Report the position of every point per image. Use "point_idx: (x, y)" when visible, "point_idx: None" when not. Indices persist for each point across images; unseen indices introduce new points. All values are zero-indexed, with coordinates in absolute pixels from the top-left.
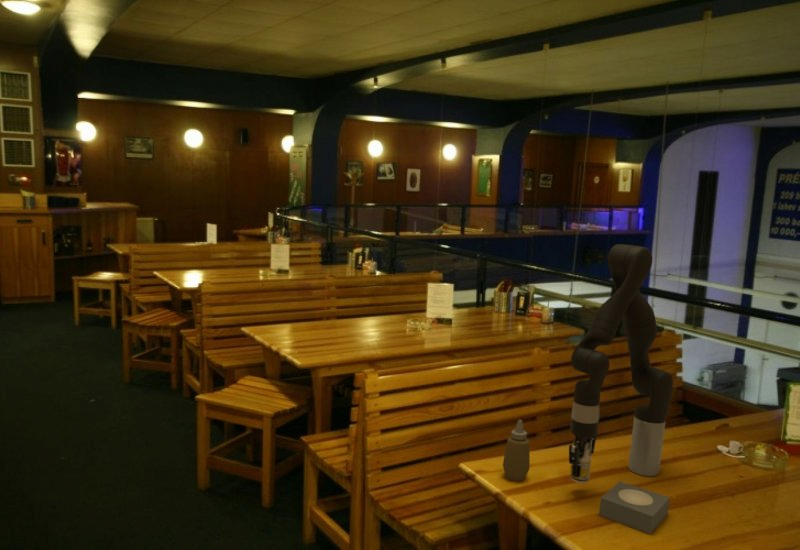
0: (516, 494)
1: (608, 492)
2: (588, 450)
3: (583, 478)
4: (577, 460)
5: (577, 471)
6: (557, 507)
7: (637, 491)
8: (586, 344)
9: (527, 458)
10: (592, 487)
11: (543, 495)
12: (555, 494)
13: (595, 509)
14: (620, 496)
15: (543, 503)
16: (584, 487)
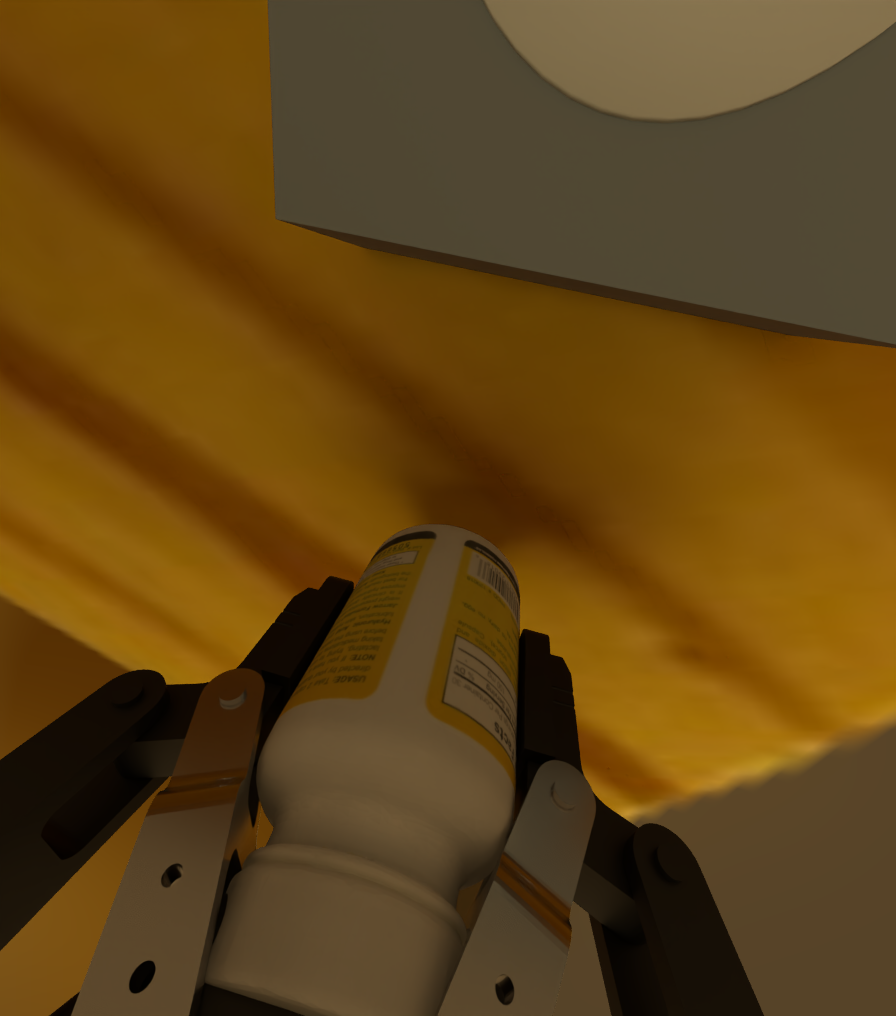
0: (651, 765)
1: (704, 286)
2: (332, 971)
3: (507, 587)
4: (725, 971)
5: (565, 703)
6: (742, 610)
7: None
8: None
9: (473, 888)
10: (336, 458)
11: (603, 675)
12: (559, 628)
13: (679, 382)
14: (859, 23)
15: (711, 672)
16: (369, 501)
